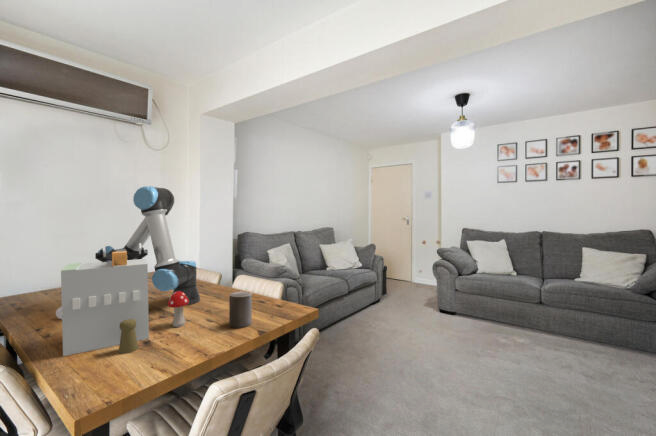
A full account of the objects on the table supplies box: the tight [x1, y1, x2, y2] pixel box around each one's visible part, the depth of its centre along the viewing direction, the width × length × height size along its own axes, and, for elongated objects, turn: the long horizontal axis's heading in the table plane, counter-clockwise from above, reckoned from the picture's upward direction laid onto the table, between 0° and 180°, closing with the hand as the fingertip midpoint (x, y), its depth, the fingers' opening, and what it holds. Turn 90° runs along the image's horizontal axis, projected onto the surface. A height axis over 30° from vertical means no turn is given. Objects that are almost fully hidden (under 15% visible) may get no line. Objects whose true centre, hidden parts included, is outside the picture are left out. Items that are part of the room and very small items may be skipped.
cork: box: [118, 319, 139, 355], centre depth 111 cm, size 6×6×11 cm
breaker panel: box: [60, 258, 150, 357], centre depth 119 cm, size 17×26×30 cm, turn 124°
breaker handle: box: [112, 248, 127, 266], centre depth 125 cm, size 26×5×5 cm, turn 33°
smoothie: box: [55, 305, 62, 320], centre depth 145 cm, size 6×6×14 cm
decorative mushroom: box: [167, 291, 189, 328], centre depth 135 cm, size 10×9×15 cm
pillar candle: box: [228, 290, 253, 329], centre depth 135 cm, size 10×10×15 cm
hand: (122, 246), depth 136 cm, fingers open, 13 cm apart
